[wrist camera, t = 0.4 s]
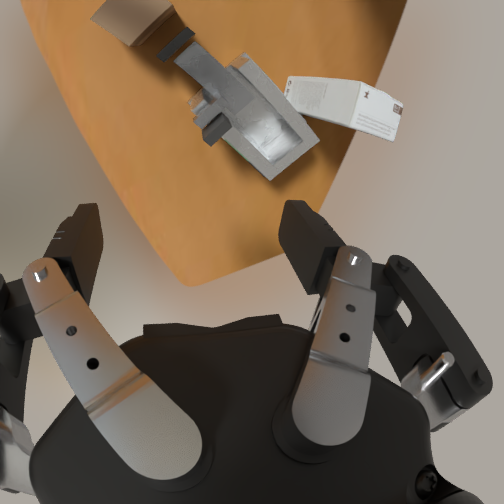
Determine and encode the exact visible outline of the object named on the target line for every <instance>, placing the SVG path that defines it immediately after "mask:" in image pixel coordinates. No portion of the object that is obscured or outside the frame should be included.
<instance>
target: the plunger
mask: <svg viewBox="0 0 504 504" xmlns="http://www.w3.org/2000/svg"><path fill="white" fill-rule="evenodd" d="M194 35H195V33H194V32H193V31H192V30H190V29H189V28H188V27H186V28H185V29H184V30H183V31H182V32H180V33H179V34H178V35H177V36H176V37H175V38H174V39H173V40H172V41H171V42H170V43H169V44H168V45H167V46H165V47H164V48H163V49H162V50H161V51H160V52H159V53H158V54H157V55H156V56H157V57H158V58H159V59H160V60H162V61H163V62H166V61H167V60H168V59H169V58H170V57H171V56H172V55H173V54H174V53H175V52H176V51H177V50H179V49H180V48H181V47H182V46H183V45H184V44H185V43H186V42H187V41H188V40H189V39H191V38H192V37H193V36H194ZM174 62H175V63H176V64H177V65H178V66H180V67H181V68H182V69H183V70H184V71H186V72H187V73H188V74H189V75H190V76H191V77H193V78H194V79H195V80H196V81H197V82H198V83H199V84H201V85H202V86H203V87H204V88H205V89H206V90H207V91H209V92H210V93H211V94H212V96H213V100H212V101H211V102H210V103H209V104H208V105H207V106H206V107H205V108H204V109H202V110H201V111H200V112H199V113H198V114H197V115H196V116H195V117H194V118H193V122H194V123H195V124H196V125H198V126H199V127H200V128H201V129H203V128H204V127H205V126H206V125H207V124H208V123H209V122H210V121H211V120H212V119H213V118H214V117H215V116H216V115H217V114H219V113H220V112H221V111H222V110H223V109H224V108H225V107H226V108H227V109H228V110H229V111H230V112H231V113H232V114H233V115H234V116H235V115H236V114H237V113H238V112H239V111H241V110H242V109H243V108H244V107H245V106H246V105H248V104H249V103H250V102H251V101H252V100H253V99H255V97H254V96H253V95H252V94H251V93H250V92H249V91H248V90H247V89H246V88H245V87H244V86H243V85H242V84H241V83H240V82H239V81H238V80H237V79H236V78H235V77H234V76H233V75H232V74H231V73H230V72H229V71H228V70H227V69H225V68H224V67H223V66H222V65H221V64H220V63H219V62H218V61H217V60H216V59H215V58H214V57H212V56H211V55H210V54H209V53H208V52H207V51H206V50H205V49H204V48H202V47H201V46H200V45H199V44H198V43H197V42H195V41H194V42H193V43H192V44H191V45H190V46H189V47H188V48H186V49H185V50H184V51H183V52H182V53H181V54H180V55H179V56H178V57H177V58H176V59H175V60H174Z"/></svg>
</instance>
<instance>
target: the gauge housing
mask: <svg viewBox="0 0 504 504" xmlns="http://www.w3.org/2000/svg"><path fill="white" fill-rule="evenodd" d="M225 69H227V70H228V71H229V72H230V73H231V74H232V75H233V76H234V77H235V78H236V79H237V80H238V81H239V82H240V83H241V84H242V85H243V86H244V87H245V88H246V89H247V90H248V91H249V92H250V93H251V94H252V95H253V96H254V97H255V99H253V100H252V101H251V102H250V103H249V104H248V105H246V106H245V107H244V108H243V109H242V110H241V111H239V112H238V113H237V114H236V115H235V116H234V115H233V114H232V113H231V112H230V111H229V110H228V109H227V108H226V107H225V108H224V109H223V110H222V111H221V112H222V113H223V114H224V115H225V116H227V117H228V118H229V121H230V123H231V125H232V128H231V129H230V130H229V131H227V132H226V133H225V134H224V135H223V136H222V138H223V139H224V140H225V141H226V142H227V143H228V144H229V145H230V146H232V147H233V148H234V149H235V150H236V151H237V152H238V153H239V154H240V155H241V156H242V157H244V158H245V159H246V160H247V161H248V162H249V163H250V164H251V165H252V166H253V167H254V168H255V169H256V170H257V171H258V172H260V173H261V174H262V175H263V176H264V177H266V178H267V179H268V180H269V181H270V180H272V179H273V178H274V177H275V176H277V175H278V174H279V173H280V172H281V171H283V170H284V169H285V168H286V167H288V166H289V165H290V164H291V163H293V162H294V161H295V160H296V159H298V158H299V157H300V156H301V155H303V154H304V153H305V152H306V151H308V150H309V149H310V148H311V147H313V146H314V145H315V144H317V143H318V142H319V141H320V140H319V138H318V137H317V136H316V135H315V133H314V132H313V131H312V129H311V128H310V127H309V126H308V124H307V123H306V120H305V119H304V118H303V117H302V115H301V114H299V113H298V112H297V111H296V109H295V108H294V107H293V106H292V105H291V103H290V102H289V101H288V100H287V99H286V96H285V95H284V94H283V93H282V92H281V90H280V89H279V88H278V87H277V86H276V85H275V84H274V83H273V81H272V80H271V79H270V78H269V77H268V76H267V75H266V74H265V73H264V72H263V71H262V70H261V68H260V67H259V66H258V65H257V64H256V63H255V62H254V61H253V60H252V59H251V58H250V57H249V56H248V55H247V54H246V53H245V52H243V53H242V54H240V55H239V56H238V57H237V58H235V59H234V60H233V61H232V62H231V63H229V64H228V65H227V66H226V67H225ZM212 100H213V96H212V94H211V93H210V92H209V91H207V90H206V89H205V88H204V87H202V88H201V89H200V90H199V91H198V92H197V93H196V94H195V95H194V96H193V97H192V98H191V99H190V100H189V101H188V104H189V105H191V111H192V112H193V113H194V114H195V115H197V114H198V113H199V112H200V111H201V110H202V109H204V108H205V107H206V106H207V105H208V104H209V103H210V102H211V101H212ZM221 112H220V113H221ZM217 115H218V114H217ZM217 115H216V116H217ZM216 116H215V117H216ZM215 117H214V118H215ZM214 118H213V119H214ZM213 119H212V120H213ZM212 120H211V121H212ZM211 121H210V122H211ZM210 122H209V123H210ZM209 123H208V124H209ZM208 124H207V125H208Z"/></svg>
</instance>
